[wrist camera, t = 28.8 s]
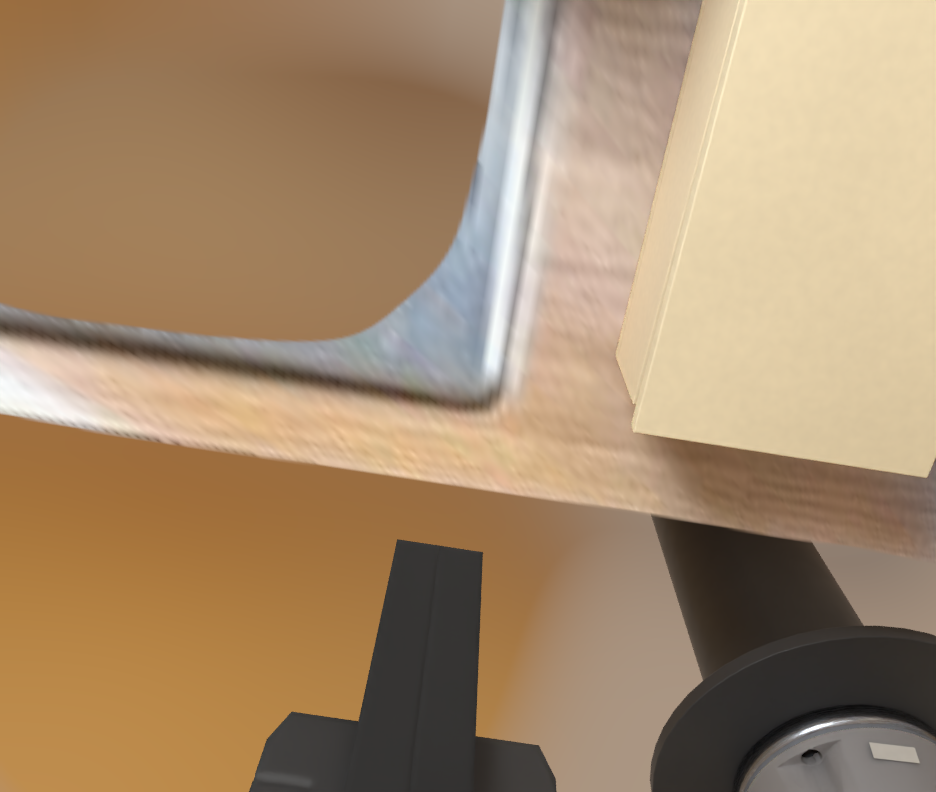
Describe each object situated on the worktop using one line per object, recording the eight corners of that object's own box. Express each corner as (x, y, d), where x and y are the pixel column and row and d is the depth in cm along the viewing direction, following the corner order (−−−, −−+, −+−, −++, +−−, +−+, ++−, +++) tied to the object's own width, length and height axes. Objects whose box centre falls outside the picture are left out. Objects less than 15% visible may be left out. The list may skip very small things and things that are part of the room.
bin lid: (919, 471, 37) (927, 479, 36) (630, 425, 36) (632, 433, 36) (1127, -20, 29) (1143, -23, 28) (761, -84, 28) (768, -88, 28)
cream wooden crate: (863, 395, 43) (919, 449, 37) (614, 355, 42) (632, 404, 36) (1022, -10, 35) (1126, -20, 29) (717, -62, 34) (761, -84, 28)
